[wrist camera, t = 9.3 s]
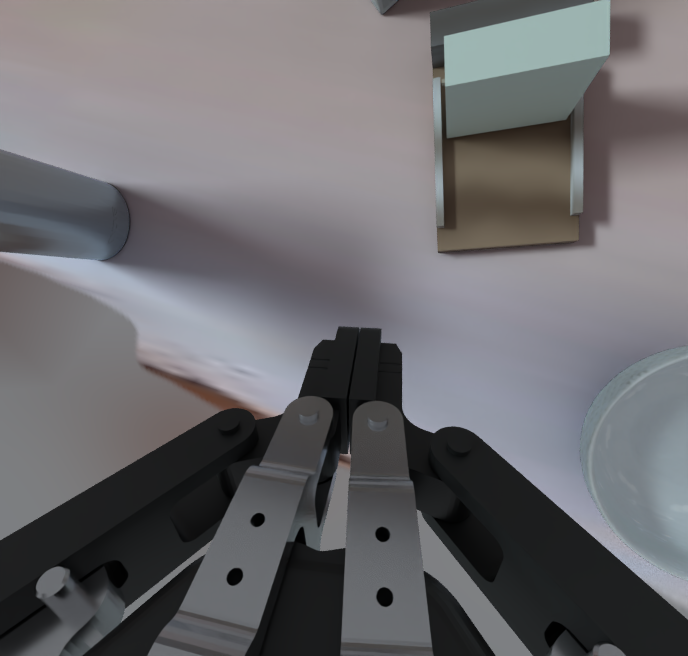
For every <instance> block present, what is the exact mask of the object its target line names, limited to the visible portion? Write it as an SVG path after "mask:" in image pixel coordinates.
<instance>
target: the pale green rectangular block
mask: <svg viewBox="0 0 688 656" xmlns="http://www.w3.org/2000/svg"><path fill="white" fill-rule="evenodd" d="M609 55H610V0H600V1H596V2H591V3H587V4H583V5H578V6H574V7H569V8H565V9H561V10H556V11H552V12H548V13H543V14H539V15H535V16H530V17H526V18H521V19H517V20H513V21H508V22H504V23H500V24H495V25H491V26H487V27H482V28H478V29H473V30H469V31H465V32H460V33H456V34H452V35H447V36H444V60H445V98H446V130H447V138H453V137H459V136H466V135H472V134H478V133H485V132H491V131H498V130H504V129H510V128H517V127H523V126H530V125H536V124H542V123H549V122H555V121H562V120H566V119H567V118H568V116H569V115H570V113H571V112H572V110H573V109H574V107H575V106H576V104H577V103H578V101H579V100H580V98H581V97H582V95H583V94H584V92H585V91H586V89H587V88H588V86H589V85H590V83H591V82H592V80H593V79H594V77H595V76H596V74H597V73H598V71H599V70H600V68H601V67H602V65H603V64H604V62H605V61H606V60H607V58H608V57H609Z"/></svg>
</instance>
